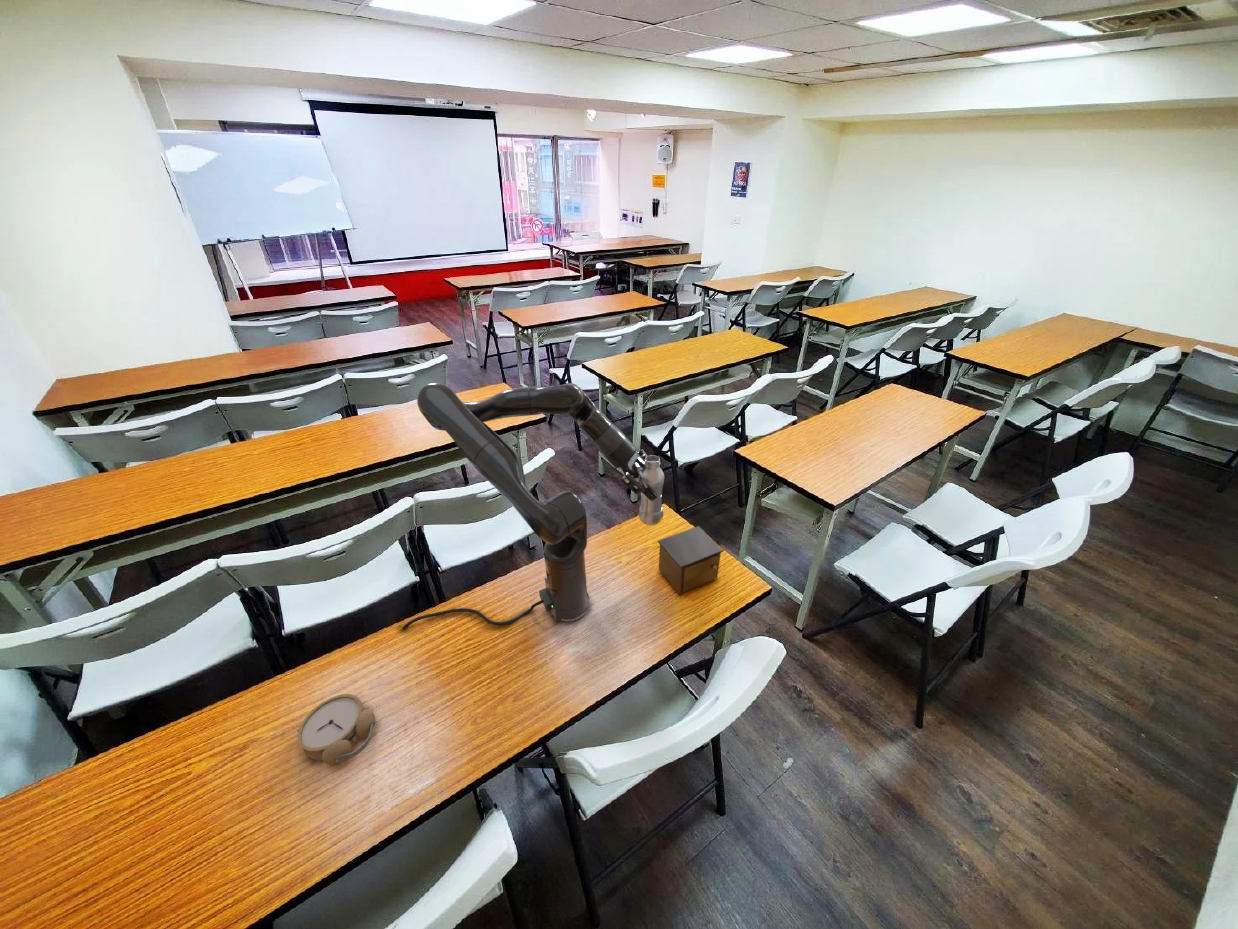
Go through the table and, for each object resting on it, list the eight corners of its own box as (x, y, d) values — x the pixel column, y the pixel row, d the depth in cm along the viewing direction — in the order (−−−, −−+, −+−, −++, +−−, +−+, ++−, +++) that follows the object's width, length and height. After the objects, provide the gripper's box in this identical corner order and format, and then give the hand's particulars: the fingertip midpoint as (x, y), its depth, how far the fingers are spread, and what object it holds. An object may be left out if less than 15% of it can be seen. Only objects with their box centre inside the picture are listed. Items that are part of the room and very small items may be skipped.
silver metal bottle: (661, 530, 125) (664, 466, 114) (636, 527, 126) (637, 464, 115) (664, 515, 130) (667, 453, 119) (640, 512, 131) (641, 451, 121)
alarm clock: (337, 685, 97) (383, 709, 89) (348, 701, 99) (393, 725, 92) (283, 735, 88) (329, 765, 81) (296, 750, 90) (342, 781, 83)
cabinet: (680, 601, 118) (683, 569, 112) (656, 571, 127) (657, 540, 121) (721, 583, 123) (725, 552, 117) (695, 556, 132) (698, 525, 126)
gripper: (613, 440, 127) (654, 483, 130) (594, 467, 115) (640, 514, 118) (632, 425, 123) (674, 470, 126) (615, 451, 111) (661, 501, 114)
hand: (657, 491), depth 122 cm, fingers closed on silver metal bottle, 6 cm apart
